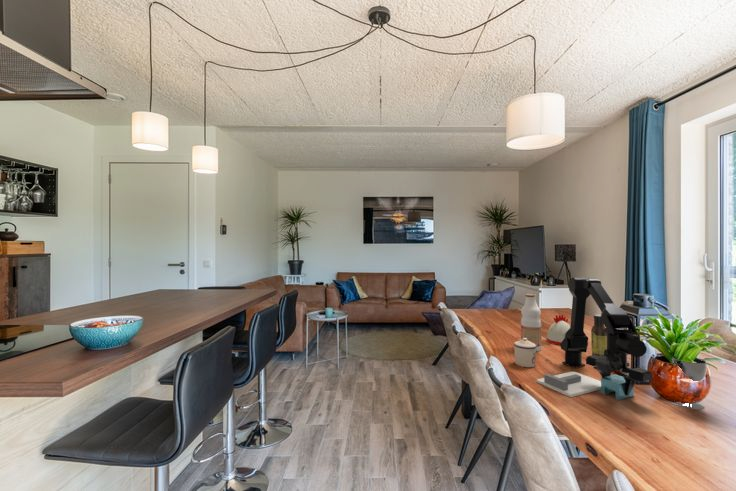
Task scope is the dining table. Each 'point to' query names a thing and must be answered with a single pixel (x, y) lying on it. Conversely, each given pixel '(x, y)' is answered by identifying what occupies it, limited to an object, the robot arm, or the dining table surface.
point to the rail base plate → (570, 383)
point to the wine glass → (692, 376)
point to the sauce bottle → (598, 337)
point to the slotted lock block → (615, 386)
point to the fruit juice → (531, 321)
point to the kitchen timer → (558, 330)
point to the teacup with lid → (525, 353)
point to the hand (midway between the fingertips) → (617, 391)
